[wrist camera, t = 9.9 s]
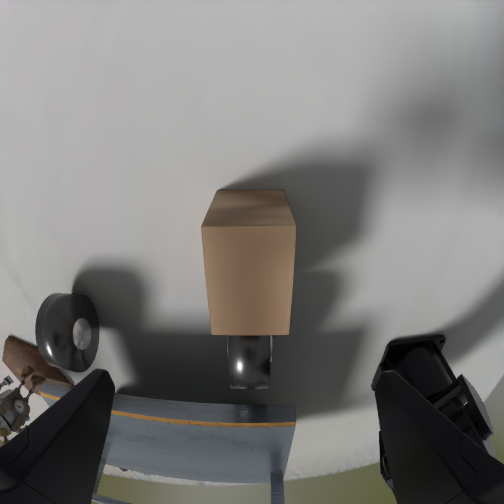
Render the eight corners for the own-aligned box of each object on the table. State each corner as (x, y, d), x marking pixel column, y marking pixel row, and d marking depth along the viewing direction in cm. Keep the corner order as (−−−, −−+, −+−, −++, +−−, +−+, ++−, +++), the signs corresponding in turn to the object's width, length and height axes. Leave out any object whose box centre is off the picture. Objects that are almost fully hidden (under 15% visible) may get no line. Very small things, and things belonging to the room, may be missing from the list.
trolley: (293, 282, 21) (323, 445, 10) (279, 427, 29) (284, 526, 18) (47, 278, 21) (-36, 380, 10) (111, 414, 30) (84, 498, 19)
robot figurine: (86, 400, 29) (54, 480, 18) (44, 399, 30) (13, 464, 19) (28, 331, 24) (-27, 413, 13) (-7, 339, 26) (-53, 404, 15)
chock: (283, 189, 18) (296, 226, 13) (280, 275, 21) (288, 334, 15) (217, 190, 18) (201, 226, 13) (221, 276, 21) (211, 334, 15)
